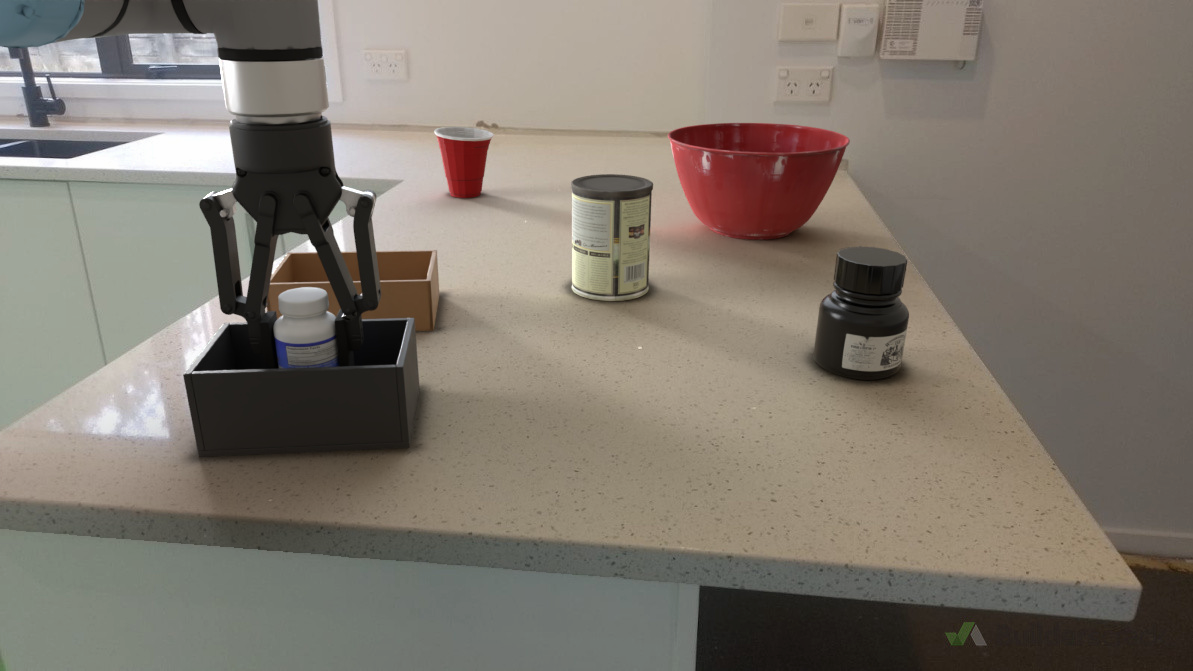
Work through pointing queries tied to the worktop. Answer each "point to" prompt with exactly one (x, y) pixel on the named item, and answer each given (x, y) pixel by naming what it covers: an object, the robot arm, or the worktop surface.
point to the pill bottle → (305, 330)
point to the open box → (304, 396)
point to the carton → (401, 276)
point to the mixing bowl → (755, 175)
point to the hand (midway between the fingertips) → (313, 383)
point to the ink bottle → (863, 315)
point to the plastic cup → (464, 158)
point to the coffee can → (611, 236)
